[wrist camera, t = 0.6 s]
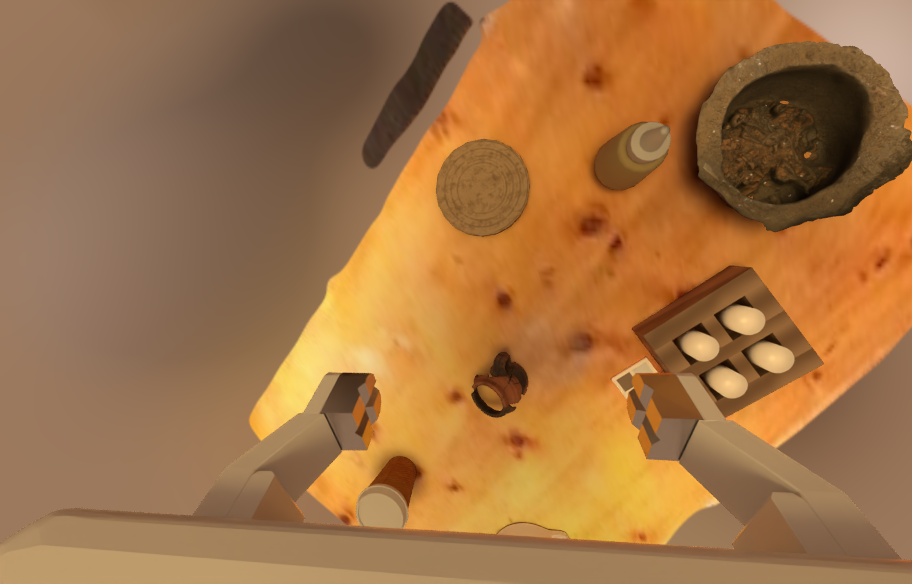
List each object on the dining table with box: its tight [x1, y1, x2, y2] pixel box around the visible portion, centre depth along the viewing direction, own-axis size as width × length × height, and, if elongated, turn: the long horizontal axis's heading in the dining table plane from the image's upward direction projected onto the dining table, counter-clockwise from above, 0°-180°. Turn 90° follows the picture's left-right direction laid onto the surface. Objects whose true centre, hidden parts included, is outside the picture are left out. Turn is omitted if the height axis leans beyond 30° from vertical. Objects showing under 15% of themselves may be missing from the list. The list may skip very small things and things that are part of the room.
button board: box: [632, 266, 824, 418], centre depth 53 cm, size 18×18×5 cm
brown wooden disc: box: [436, 139, 530, 236], centre depth 57 cm, size 16×16×3 cm
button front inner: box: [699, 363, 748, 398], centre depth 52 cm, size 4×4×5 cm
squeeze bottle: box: [594, 122, 671, 190], centre depth 46 cm, size 8×8×18 cm
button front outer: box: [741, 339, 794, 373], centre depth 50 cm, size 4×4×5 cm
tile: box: [611, 357, 658, 399], centre depth 58 cm, size 7×7×1 cm
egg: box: [673, 328, 719, 361], centre depth 52 cm, size 4×4×5 cm
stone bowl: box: [696, 41, 912, 232], centre depth 47 cm, size 25×25×9 cm
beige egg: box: [714, 303, 765, 335], centre depth 50 cm, size 4×4×5 cm
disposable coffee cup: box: [356, 456, 416, 529], centre depth 62 cm, size 10×10×12 cm
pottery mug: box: [471, 352, 528, 417], centre depth 60 cm, size 12×10×8 cm
